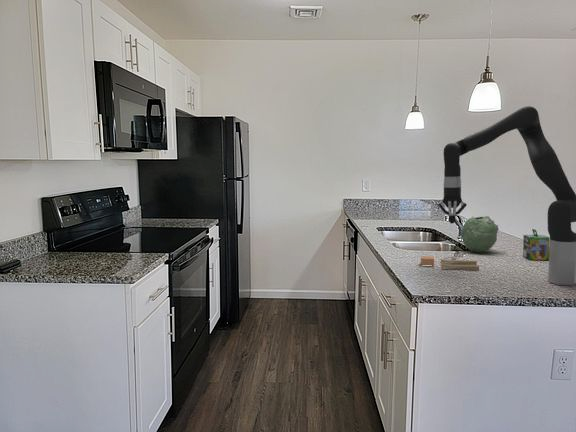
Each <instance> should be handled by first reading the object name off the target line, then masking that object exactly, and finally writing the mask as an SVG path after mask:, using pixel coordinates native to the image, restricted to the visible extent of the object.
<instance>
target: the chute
mask: <svg viewBox="0 0 576 432" xmlns="http://www.w3.org/2000/svg"><path fill="white" fill-rule="evenodd" d="M441 263H442V264H441ZM477 263H478V262H477V260H471V259H470V260H469V259H468V260H467V259H466V260H465V259H443V258H442V259H440V269H441V268H445V269H444V270H449V269H455V270H456V271H471V272H472V271H476V272H479V271H480V265H477ZM455 270H454V271H455Z"/></svg>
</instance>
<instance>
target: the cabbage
mask: <svg viewBox="0 0 576 432" xmlns="http://www.w3.org/2000/svg"><path fill="white" fill-rule="evenodd" d="M498 233H499V225H498V224H496V223H495V220H492V218H490V216H489V215H485V216H478V217H477V216H476V217H474V216H472V217H470V218H468V219H466V221H465V222H464V223H463V226H462V229H461V231H460V237H461V239H462V243H463V244H464V246H465V247H466V249H468V250H469V251H472V252H474V253H479V254H480V253H485V252H488V251H489V250H490V249H492V247H494V246H495V244H496V243H497V239H498Z"/></svg>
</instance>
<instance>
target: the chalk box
mask: <svg viewBox="0 0 576 432" xmlns="http://www.w3.org/2000/svg"><path fill="white" fill-rule="evenodd" d="M532 233H533V234H524V235H523V236H522V237H523V239H522V240H523V243H522V244H523V246H522V247H523V248H522V249H523V250H522V253H523V254H522V257H523V258H525V259H527V260H528V261H549V246H550V236H547V235H543V234H538V232H537V229H534V228H532Z"/></svg>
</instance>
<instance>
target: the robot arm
mask: <svg viewBox="0 0 576 432" xmlns="http://www.w3.org/2000/svg"><path fill="white" fill-rule="evenodd" d="M513 130H518V132H519V134H520V136H521V137H522V139H523V141H524V143H525V145H526V148H527V153H528V157H529V160H530V164H531V166H532V168H533V170H534V172H535V174H536V177H537V178H538V179H539V180H540V181H541V182H542V183H543V184H545V186H546V187H547V188H548V189H550V191H551V192H552V193H553V196H554V197H555V199H556V200H554V201H552V202H551V203H550V205H549V206H548V208H547V232H548V234H549V260H548V276H547V278H548V279H547V281H548V282H549V283H551V284H554V285H556V286H557V285H558V286H575V285H576V232H575V231H573V230H572V223H576V192H575V191H574V189H573V188H572V185H571V184H570V182H569V180H568V177H567V175H566V173H565V171H564V169H563V165H562V164H561V161H560V160H559V158H558V155H557V154H556V151H555V149H554V148H553V146H552V145H551V143H550V142H549V141H548V140H547V138H546V137H545V134H544V132H543V129H542V126H541V121H540V115H539V112H538V110H537V108H536V107H534V106H531V105H530V106H529V105H527V106H522V107H520V108H518V109H516V110H515V111H513V112H511V113H510V114H508V115H507V116H505V117H503V118H502V119H499V120H498V121H497V122H495V123H493V124H491V125H488V126H487V127H485V128H482V129H480V130H478V131H476V132H474V133H471V134H468V135H467V136H465V137H464V138H462V139H460V140H457V141H455V142H448V143H447V144H446V145H445V146H444V148H443V164H444V172H443V173H444V176H443V177H444V178H443V198H442V200H441V202H440V203H439V202H438V204H437V205H438V207H439V208H440V210H441V211H442V212H443V213H444V214H445V215H448V223H450V224H455V223H456V215H460V214H461V213H462V212H463V210H464V209H465V208H466V206H467V203H466V202H464V201H463V199H462V178H461V176H462V175H461V173H462V172H461V171H462V170H461V165H460V158H461V156H463V155H466V154H467V153H469V152H471V151H474V150H477V149H480V148H482V147H485V146H486V145H488V144H491V143H492V142H494V141H495V140H496V139H498V138H499V137H501V136H503V135H505V134H506V133H509V132H511V131H513ZM444 206H445V207H446V208H447V209H448V211H447V210H446V208H445V207H444ZM459 206H460V208H459ZM457 208H458V209H457Z"/></svg>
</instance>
